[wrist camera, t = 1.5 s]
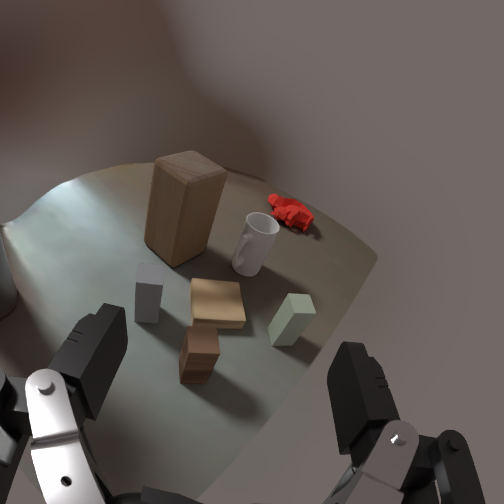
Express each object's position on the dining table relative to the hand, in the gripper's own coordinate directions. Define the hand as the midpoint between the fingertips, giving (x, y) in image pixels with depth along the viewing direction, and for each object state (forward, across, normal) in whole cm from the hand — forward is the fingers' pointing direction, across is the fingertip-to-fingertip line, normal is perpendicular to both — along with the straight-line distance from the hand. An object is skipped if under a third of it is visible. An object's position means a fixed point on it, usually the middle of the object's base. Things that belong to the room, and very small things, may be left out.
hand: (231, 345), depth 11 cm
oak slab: (+37, -3, -27) cm, 46 cm away
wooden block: (+50, -14, -22) cm, 56 cm away
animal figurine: (+75, +11, -20) cm, 79 cm away
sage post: (+35, +10, -29) cm, 46 cm away
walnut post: (+24, -4, -30) cm, 38 cm away
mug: (+49, +1, -24) cm, 55 cm away
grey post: (+32, -14, -26) cm, 43 cm away
